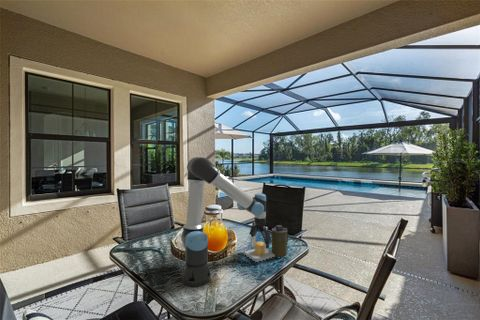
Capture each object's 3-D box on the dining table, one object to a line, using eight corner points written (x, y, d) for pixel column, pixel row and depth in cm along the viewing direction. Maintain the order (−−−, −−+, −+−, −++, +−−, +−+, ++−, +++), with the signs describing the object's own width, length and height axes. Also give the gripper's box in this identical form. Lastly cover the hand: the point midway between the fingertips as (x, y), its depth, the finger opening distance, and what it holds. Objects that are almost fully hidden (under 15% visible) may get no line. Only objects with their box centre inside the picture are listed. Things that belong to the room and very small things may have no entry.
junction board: (256, 262, 136) (256, 252, 136) (243, 254, 148) (243, 244, 147) (275, 256, 145) (276, 246, 145) (262, 249, 156) (262, 240, 156)
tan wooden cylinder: (258, 255, 141) (259, 246, 141) (252, 251, 147) (252, 242, 147) (267, 253, 145) (267, 244, 145) (260, 249, 151) (260, 240, 151)
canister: (275, 260, 141) (276, 228, 141) (268, 253, 151) (269, 224, 151) (290, 257, 144) (291, 227, 144) (282, 251, 154) (283, 222, 154)
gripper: (277, 221, 138) (276, 254, 138) (253, 212, 158) (253, 242, 159) (268, 222, 133) (267, 257, 134) (244, 213, 154) (244, 244, 154)
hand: (259, 249), depth 146 cm, fingers open, 13 cm apart
